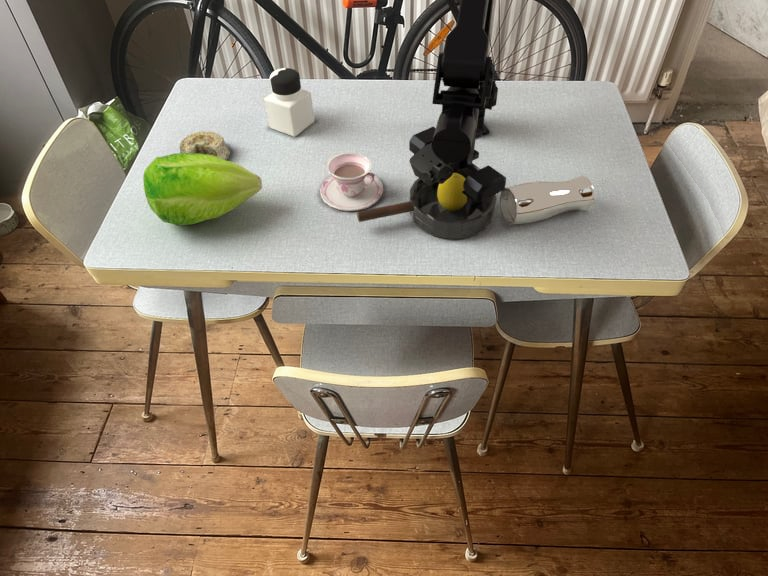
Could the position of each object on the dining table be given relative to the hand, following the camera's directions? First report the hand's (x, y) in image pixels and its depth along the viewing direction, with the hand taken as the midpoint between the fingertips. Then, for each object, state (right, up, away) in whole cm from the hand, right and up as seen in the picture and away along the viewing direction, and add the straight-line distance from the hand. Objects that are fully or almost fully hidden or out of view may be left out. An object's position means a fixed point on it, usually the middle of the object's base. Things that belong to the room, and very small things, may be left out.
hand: (452, 201), depth 103 cm
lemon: (0, -1, +2) cm, 2 cm away
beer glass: (+24, +2, 0) cm, 24 cm away
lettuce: (-44, -2, +3) cm, 44 cm away
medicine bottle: (-32, +20, +22) cm, 44 cm away
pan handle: (-12, -3, -2) cm, 12 cm away
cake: (-49, +11, +15) cm, 52 cm away
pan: (0, -2, +2) cm, 2 cm away
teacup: (-18, +3, +6) cm, 20 cm away
